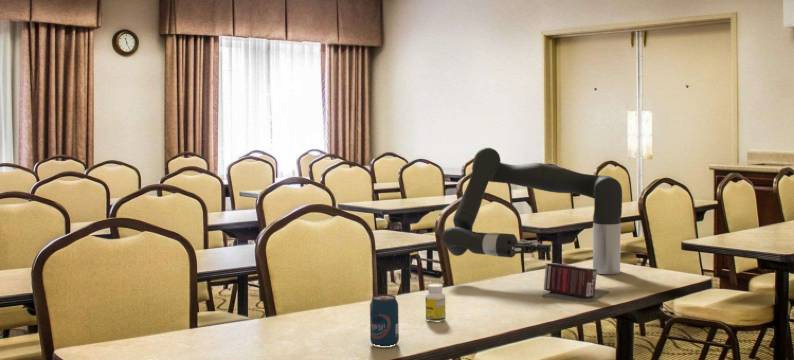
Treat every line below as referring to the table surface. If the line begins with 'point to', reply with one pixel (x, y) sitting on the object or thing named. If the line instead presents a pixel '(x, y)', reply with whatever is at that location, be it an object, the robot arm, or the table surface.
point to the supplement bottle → (435, 303)
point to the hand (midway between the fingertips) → (550, 248)
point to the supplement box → (570, 280)
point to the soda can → (384, 320)
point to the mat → (571, 297)
